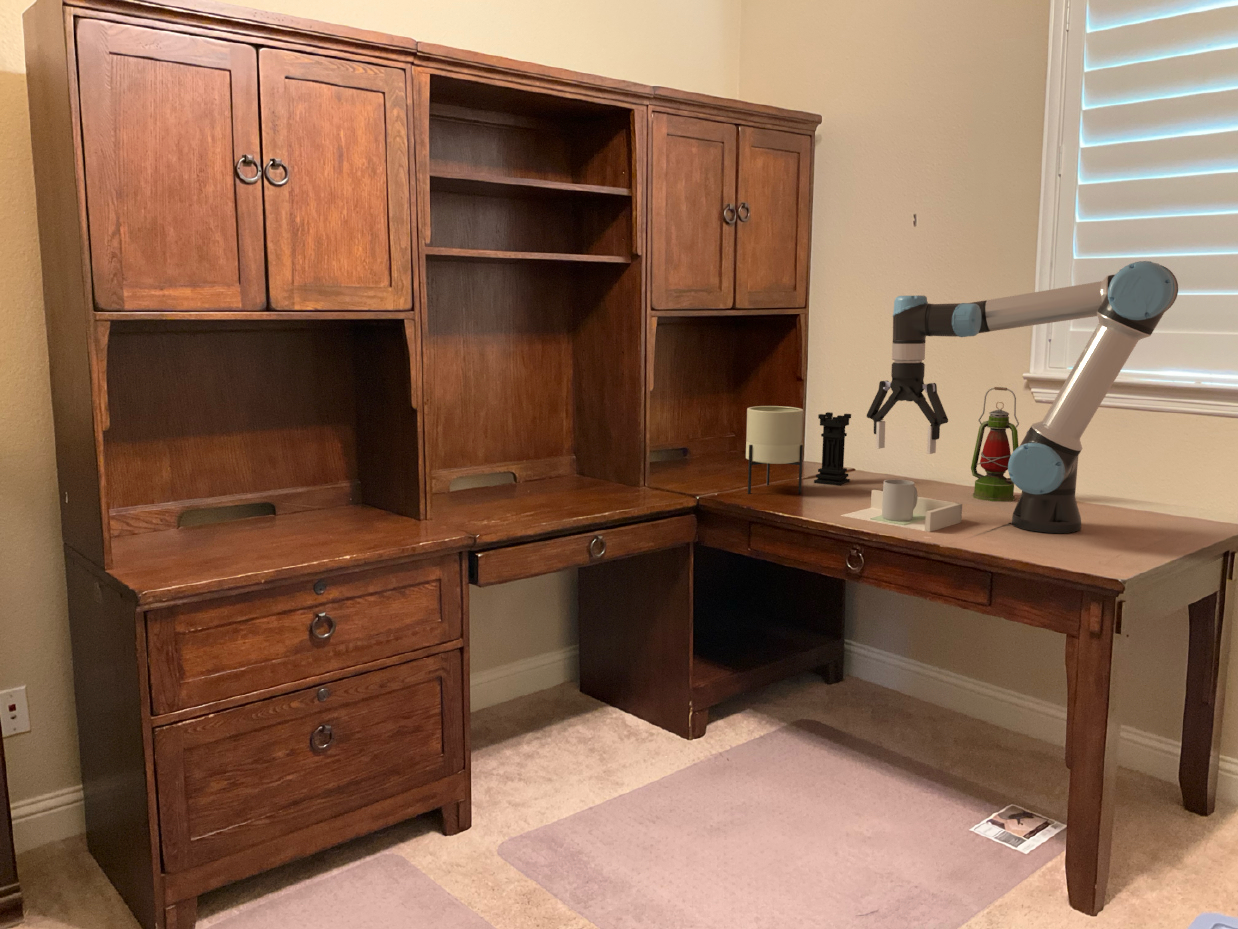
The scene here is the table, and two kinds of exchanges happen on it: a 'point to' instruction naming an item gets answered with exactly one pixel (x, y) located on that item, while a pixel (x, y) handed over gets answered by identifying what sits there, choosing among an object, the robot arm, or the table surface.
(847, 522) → the table surface
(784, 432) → the planter
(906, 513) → the cup
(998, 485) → the lantern
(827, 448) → the chess piece
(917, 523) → the tray
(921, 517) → the pad
